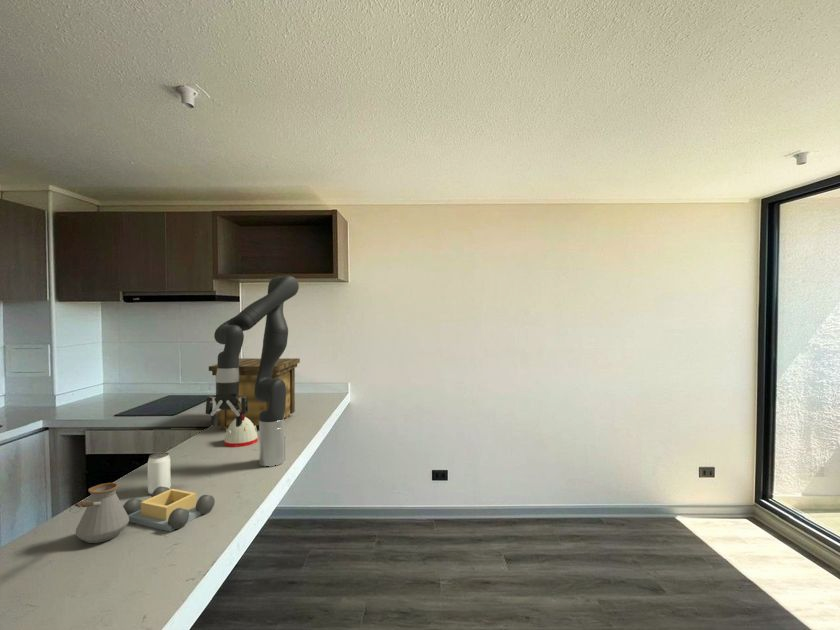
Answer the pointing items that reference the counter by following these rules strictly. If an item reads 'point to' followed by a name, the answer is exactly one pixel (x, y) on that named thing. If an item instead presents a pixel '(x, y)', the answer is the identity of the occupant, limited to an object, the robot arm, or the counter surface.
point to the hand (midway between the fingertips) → (226, 426)
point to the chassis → (168, 508)
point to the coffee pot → (102, 515)
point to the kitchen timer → (241, 433)
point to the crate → (247, 381)
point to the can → (158, 471)
